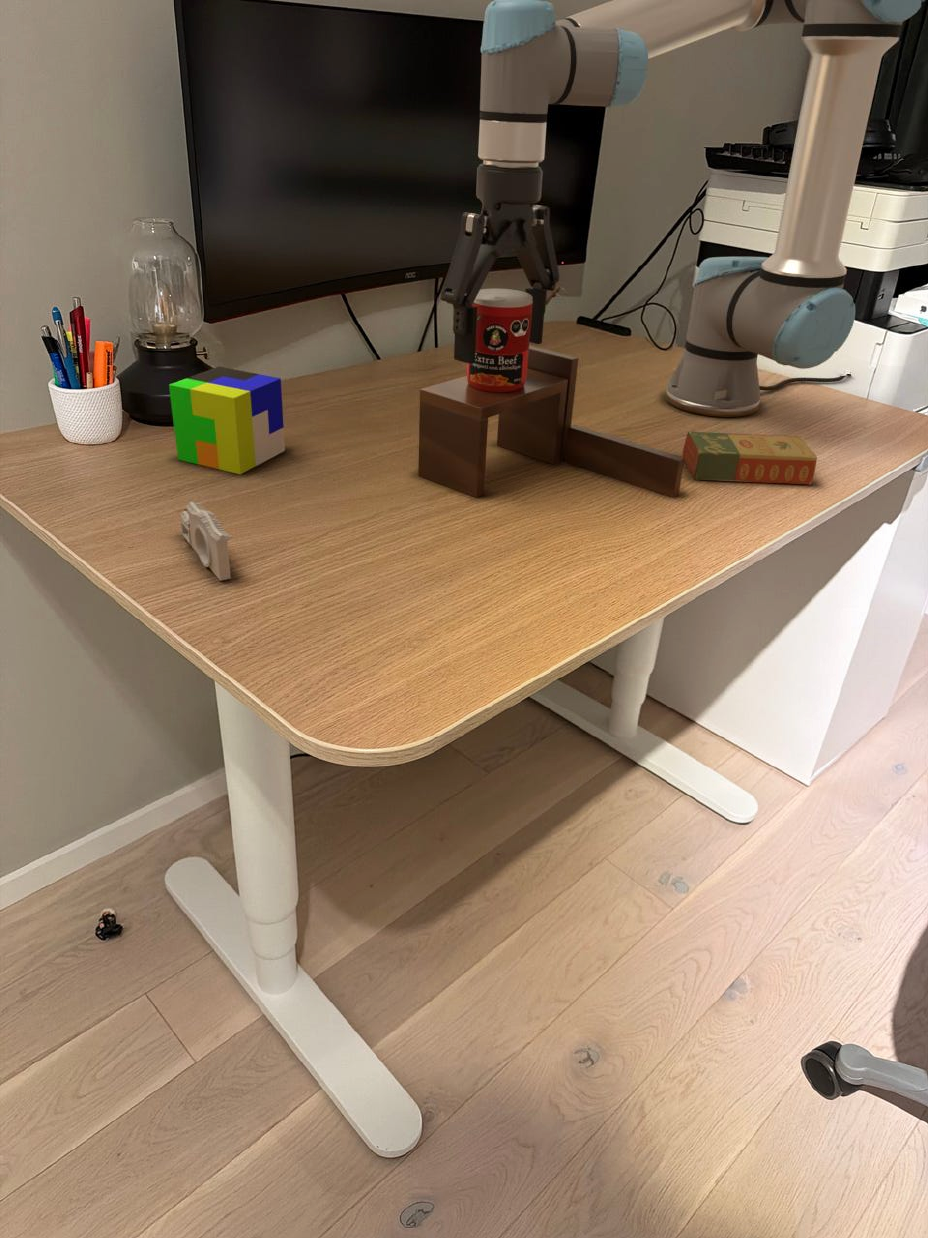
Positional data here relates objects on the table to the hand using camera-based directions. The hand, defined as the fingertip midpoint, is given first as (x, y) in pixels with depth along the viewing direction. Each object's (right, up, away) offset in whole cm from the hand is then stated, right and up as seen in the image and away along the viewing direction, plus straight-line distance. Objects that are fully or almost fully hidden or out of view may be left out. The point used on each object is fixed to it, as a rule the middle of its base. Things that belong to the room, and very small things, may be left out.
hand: (499, 351), depth 115 cm
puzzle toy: (-36, -12, +8) cm, 38 cm away
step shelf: (+6, -16, +4) cm, 18 cm away
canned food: (0, -4, +2) cm, 4 cm away
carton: (+34, -13, +11) cm, 39 cm away
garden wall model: (-32, -27, -18) cm, 45 cm away
